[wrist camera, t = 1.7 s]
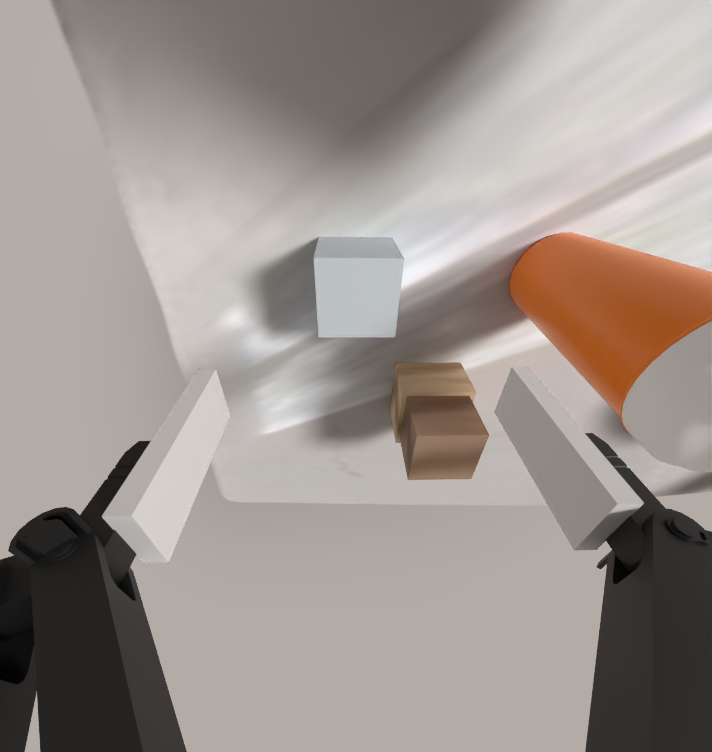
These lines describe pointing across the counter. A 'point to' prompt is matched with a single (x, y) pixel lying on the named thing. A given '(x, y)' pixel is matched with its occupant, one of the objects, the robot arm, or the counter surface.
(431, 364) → the oak block
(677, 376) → the shaker bottle
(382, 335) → the grey-blue cube
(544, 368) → the counter surface
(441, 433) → the walnut block
